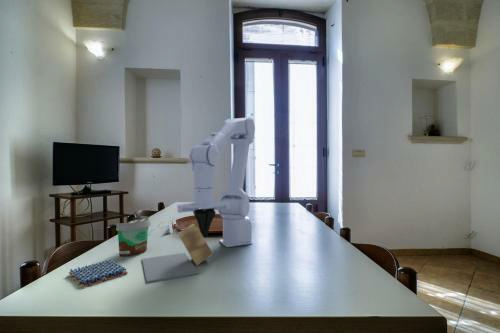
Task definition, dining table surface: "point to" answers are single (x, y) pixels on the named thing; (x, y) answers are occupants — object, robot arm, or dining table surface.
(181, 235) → the wood block
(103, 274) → the woven mat
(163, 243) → the dining table surface
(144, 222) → the food container
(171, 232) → the sunglasses
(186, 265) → the grey rubber mat
